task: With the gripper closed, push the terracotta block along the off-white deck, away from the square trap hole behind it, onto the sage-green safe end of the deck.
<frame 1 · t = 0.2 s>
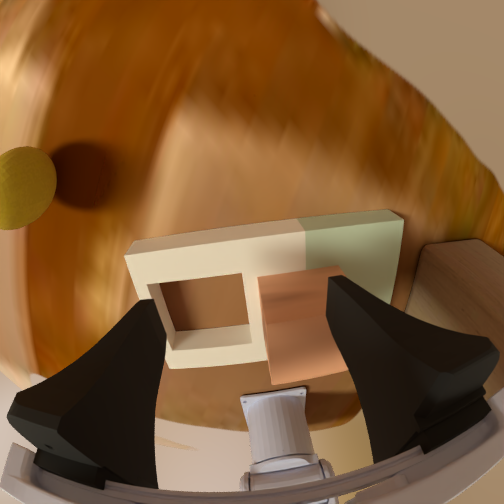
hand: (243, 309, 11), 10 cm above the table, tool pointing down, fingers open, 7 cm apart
block: (299, 304, 21), point 2 cm above the table, touching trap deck
wooden block: (440, 278, 25), on the table
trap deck: (286, 287, 23), on the table
lemon: (49, 173, 17), on the table
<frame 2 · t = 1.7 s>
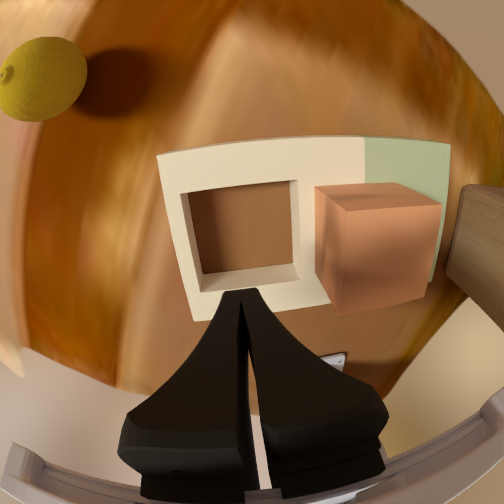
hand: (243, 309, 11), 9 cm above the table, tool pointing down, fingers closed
block: (356, 227, 17), point 2 cm above the table, touching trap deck
wooden block: (476, 227, 22), on the table
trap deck: (336, 215, 20), on the table
lemon: (74, 84, 13), on the table
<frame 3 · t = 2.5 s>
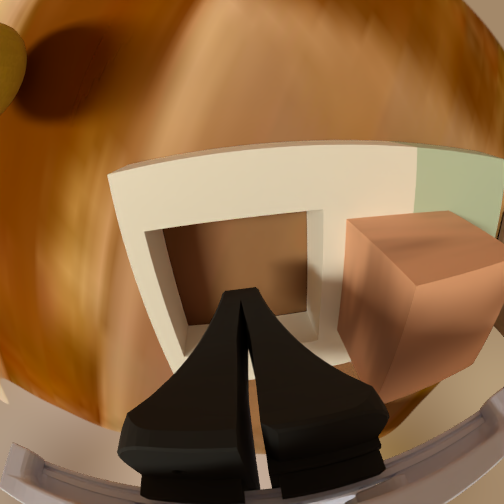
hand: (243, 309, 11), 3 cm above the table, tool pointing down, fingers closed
block: (396, 272, 12), point 2 cm above the table, touching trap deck
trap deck: (366, 250, 14), on the table
lemon: (20, 79, 8), on the table
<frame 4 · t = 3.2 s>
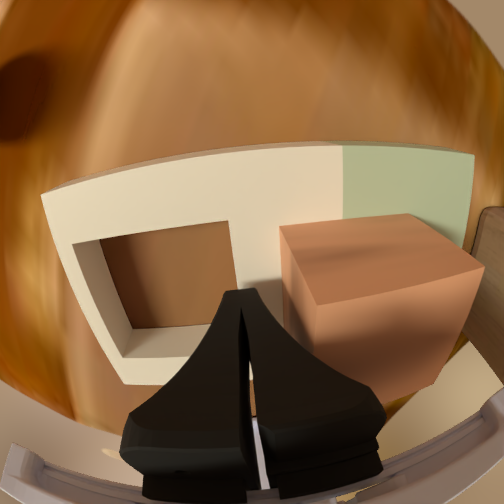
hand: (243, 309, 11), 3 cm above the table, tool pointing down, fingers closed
block: (346, 280, 12), point 3 cm above the table, touching gripper, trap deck
wooden block: (493, 258, 16), on the table
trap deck: (304, 259, 14), on the table
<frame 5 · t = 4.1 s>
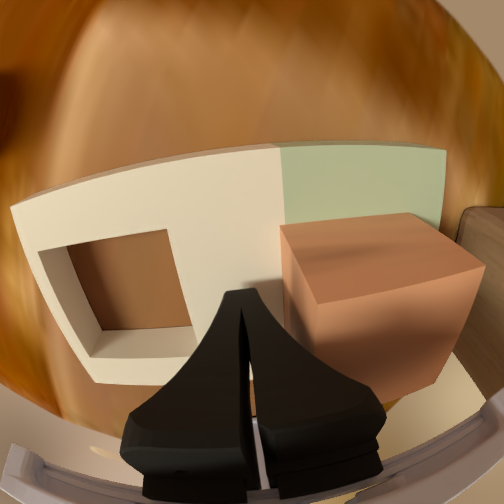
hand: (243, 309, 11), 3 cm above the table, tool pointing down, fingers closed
block: (346, 280, 12), point 2 cm above the table, touching gripper, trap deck
wooden block: (479, 261, 16), on the table
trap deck: (259, 265, 14), on the table
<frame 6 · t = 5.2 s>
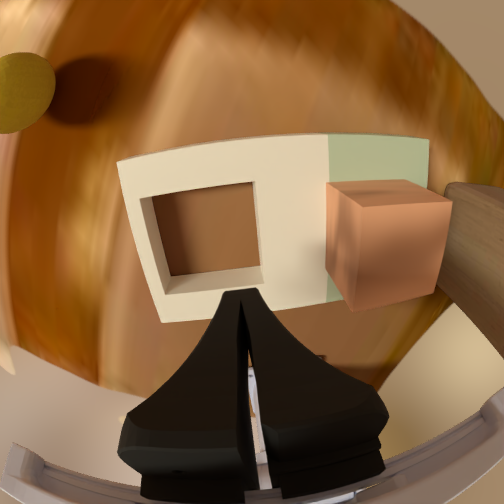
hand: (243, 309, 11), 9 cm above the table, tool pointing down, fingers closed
block: (366, 223, 17), point 2 cm above the table, touching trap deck
wooden block: (464, 228, 21), on the table
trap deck: (304, 217, 19), on the table
lemon: (47, 93, 13), on the table
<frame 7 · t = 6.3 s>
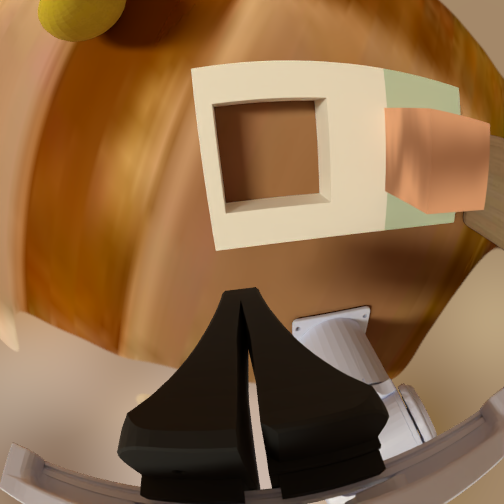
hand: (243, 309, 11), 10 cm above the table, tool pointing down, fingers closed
block: (417, 151, 16), point 2 cm above the table, touching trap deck
wooden block: (488, 180, 20), on the table
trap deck: (360, 146, 18), on the table
lemon: (106, 21, 12), on the table
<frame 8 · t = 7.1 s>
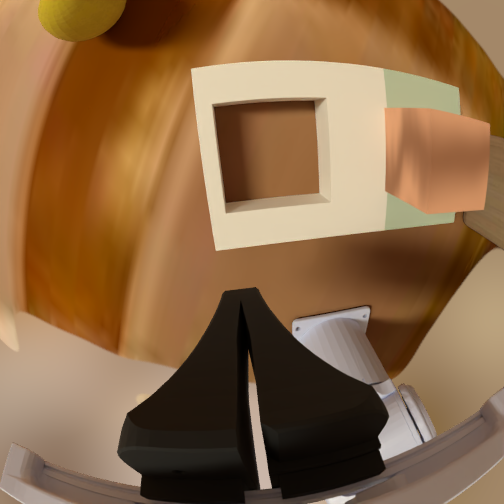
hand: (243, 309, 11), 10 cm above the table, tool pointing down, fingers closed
block: (417, 151, 16), point 2 cm above the table, touching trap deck
wooden block: (488, 180, 20), on the table
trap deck: (360, 146, 18), on the table
lemon: (106, 21, 12), on the table
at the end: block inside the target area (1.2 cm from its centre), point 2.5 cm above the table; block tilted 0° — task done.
